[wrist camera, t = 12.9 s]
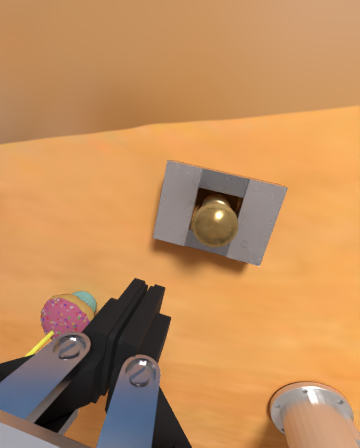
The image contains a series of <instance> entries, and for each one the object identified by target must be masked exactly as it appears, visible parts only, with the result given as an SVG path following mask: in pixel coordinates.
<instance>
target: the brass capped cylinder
mask: <svg viewBox="0 0 360 448" xmlns="http://www.w3.org/2000/svg"><path fill="white" fill-rule="evenodd" d="M192 228H193V232H194V235H195V237H196V238H197V239H198V240H199V241H200V242H201V243H202V244H204V245H206V246H209V247H222V246H225V245H227V244H228V243H230V242H231V241H232V240H233V239H234V238H235V236H236V234H237V231H238V220H237V217H236V214H235V213H234V211H233V210H232V209H231V207H230V204H229V201H228V200H227V199H226V198H225V197H224V196H222V195H220V194H212V195H209V196H208V197H206V198H205V199H204V201H203V202H202V205H201V208H200V209H199V210H198V211H197V212H196V214H195V216H194V219H193V223H192Z"/></svg>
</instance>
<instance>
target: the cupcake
mask: <svg viewBox="0 0 360 448" xmlns="http://www.w3.org/2000/svg"><path fill="white" fill-rule="evenodd" d="M95 310H96V301H95V299H94V298H93V296H92V295H90V294H89V293H87V292H84V291H78V292H75V293H73V294H60V295H55V296H53V297H51V298H50V299H49V300H48V301H47V302H46V304H45V305H44V307H43V309H42V311H41V319H40V321H41V322H42V324H41V326H42V327H43V329H44V331H45V334H46V336H45V337H44V338H43V339H42V340H41V341H40V342H39V343H38V344H37V345H36V346H35V347H34V348H33V349H32V350H31V351H30V352H29V353H28V354H27V355H26V356H29V355H33V354H35V353H36V352H37V351H38V350H39V349H40V348H41V347H42V346H43V345H44V344H45V343H46V342H47V341H48V340H49V339H50V338H51V339H52V340H54V339H55V338H56V337H58V336H60V335H61V334H64V333H67V332H82V331H83V330H84V328H85V327H86V326H87V325H88V324H89V323H90V321H91V320H92V319H93V318H94V317H95V316H94V313H95ZM26 356H25V357H26Z"/></svg>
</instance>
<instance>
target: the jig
mask: <svg viewBox="0 0 360 448" xmlns="http://www.w3.org/2000/svg"><path fill="white" fill-rule="evenodd" d="M200 188H204V189H208V190H213V191H217V192H221V193H225V194H229V195H234V196H238V197H239V200H238V203H237V206H236V210H235V214H236V217H237V220H238V231H237V234H236V236H235V238H234V239H233V240H232V241H231V242H230V243H228V244H227V245H225V246H222V247H209V246H206V245H204V244H202V243H201V242H200V241H199V240H198V239H197V238H196V237H195V235H194V232H193V228H192V223H193V222H192V218H193V214H194V210H195V206H196V202H197V197H198V193H199V189H200ZM287 189H288V188H287V187H285V186H282V185H279V184H276V183H271V182H267V181H262V180H258V179H253V178H249V177H245V176H240V175H236V174H231V173H227V172H223V171H218V170H214V169H209V168H205V167H201V166H196V165H192V164H187V163H183V162H179V161H174V160H167V165H166V171H165V176H164V181H163V187H162V192H161V197H160V203H159V208H158V213H157V219H156V224H155V229H154V235H153V238H155V239H159V240H162V241H166V242H170V243H174V244H178V245H181V246H189V247H192V248H196V249H200V250H204V251H208V252H211V253H215V254H219V255H223V256H226V257H227V258H231V259H234V260H238V261H242V262H246V263H250V264H253V265H257V266H260V264H261V261H262V258H263V255H264V252H265V250H266V247H267V244H268V241H269V239H270V236H271V233H272V230H273V228H274V225H275V222H276V219H277V216H278V214H279V211H280V208H281V205H282V203H283V200H284V197H285V194H286V192H287Z"/></svg>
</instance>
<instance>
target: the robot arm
mask: <svg viewBox="0 0 360 448" xmlns="http://www.w3.org/2000/svg"><path fill="white" fill-rule="evenodd" d="M147 289H148V285H146V284H145V281H143V280H140V279H136V278H135V279H134V280H133V281H132V282H131V284H130V285H129V286H128V287H127V289H126V290H125V291H124V292H123V294H122V295H121V296H120V298H119V299H118V300H117V299H114V298H110V299H109V300H108V302H107V303H106V304H105V305H104V306H103V307H102V309H101V310H100V311H99V312H98V313H97V314H96V316H95V317H94V318H93V319H92V320H91V321H90V323H89V324H88V325H87V326H86V327H85V328H84V330H83V331H82V332H67V333H64V334H61V335H60V336H58V337H56V338H55V339H54V340H52V341H51V342H50V343H49V344H47V345H46V346H45V347H44V348H42V349H41V350H40V351H39V352H38V353H36V354H33V355H29V356H26V357H22V358H19V359H15V360H11V361H8V362H4V363H1V364H0V448H91V447H89V446H87V445H84V444H82V443H79V442H77V441H75V440H72V439H70V438H67V437H65V436H63V435H64V433H65V432H66V431H67V429H68V428H69V427H70V425H71V424H72V423H73V421H74V420H75V419H76V417H77V416H78V414H79V412H80V411H81V407H83V406H85V405H88V404H90V402H92V403H95V404H96V402H97V401H98V399H99V397H100V395H103V396H105V395H106V393H107V391H108V389H109V391H108V397H107V402H106V407H105V411H106V418H105V421H104V424H103V427H102V430H101V433H100V436H99V439H98V443H97V446H96V448H192V447H191V445H190V443H189V441H188V439H187V437H186V435H185V434H184V432H183V430H182V428H181V426H180V424H179V422H178V420H177V418H176V417H175V415H174V413H173V411H172V409H171V407H170V405H169V403H168V401H167V399H166V398H165V396H164V394H163V392H162V390H161V388H160V386H159V383H160V368H159V365H158V361H159V358H160V355H161V352H162V349H163V346H164V343H165V339H166V336H167V332H168V329H169V325H170V321H171V317H169V316H166V315H163V314H160V309H161V304H162V300H163V296H164V292H165V287H162V286H159V285H156V284H155V286H154V287H153V286H150V288H149V289H148V291H147ZM270 414H271V418H272V421H273V423H274V425H275V426H276V427H277V429H278V430H279V431H281V432H282V433H283V434H285V436H286V440H287V444H288V448H360V432H359V431H358V430H357V429H356V427H355V425H354V423H353V419H354V416H353V411H352V409H351V407H350V405H349V403H348V401H347V400H346V398H345V397H344V396H343V395H342V394H341V393H340V392H338V391H337V390H335V389H333V388H331V387H329V386H327V385H324V384H320V383H314V382H299V383H294V384H290V385H287V386H285V387H283V388H282V389H280V390H279V391H277V393H276V394H275V395H274V396H273V398H272V399H271V402H270Z"/></svg>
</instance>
